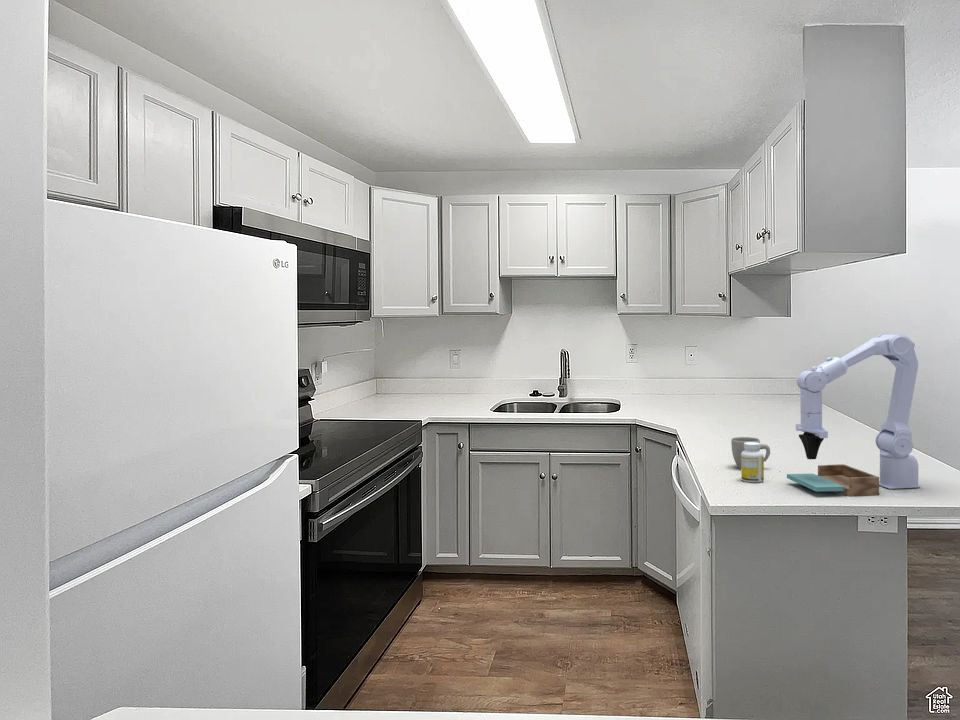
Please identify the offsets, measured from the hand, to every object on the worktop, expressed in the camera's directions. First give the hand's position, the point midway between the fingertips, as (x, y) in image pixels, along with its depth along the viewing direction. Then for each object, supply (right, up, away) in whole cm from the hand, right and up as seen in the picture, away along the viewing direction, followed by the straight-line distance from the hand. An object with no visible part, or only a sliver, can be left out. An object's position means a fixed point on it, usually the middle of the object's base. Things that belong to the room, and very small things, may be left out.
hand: (811, 458), depth 219 cm
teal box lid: (+4, -6, -1) cm, 8 cm away
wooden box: (+9, -8, -1) cm, 13 cm away
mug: (-7, -7, +29) cm, 31 cm away
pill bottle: (-13, -8, +12) cm, 19 cm away
